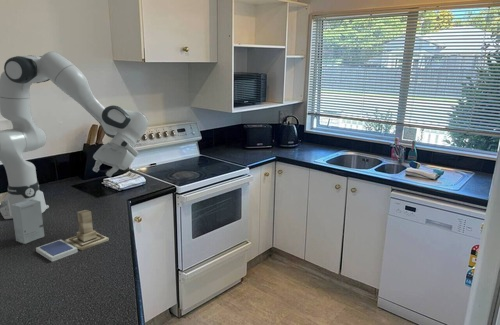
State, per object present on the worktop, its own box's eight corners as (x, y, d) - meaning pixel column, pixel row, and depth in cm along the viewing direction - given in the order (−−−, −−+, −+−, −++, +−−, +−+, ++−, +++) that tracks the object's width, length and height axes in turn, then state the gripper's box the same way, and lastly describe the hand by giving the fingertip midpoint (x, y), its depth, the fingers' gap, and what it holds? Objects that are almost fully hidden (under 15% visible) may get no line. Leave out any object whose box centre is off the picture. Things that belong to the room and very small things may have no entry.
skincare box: (24, 244, 139) (18, 207, 136) (15, 241, 142) (9, 204, 139) (45, 236, 146) (41, 200, 143) (36, 233, 149) (31, 198, 146)
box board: (65, 241, 142) (65, 238, 142) (92, 232, 150) (92, 229, 150) (81, 250, 135) (81, 247, 134) (109, 240, 143) (108, 237, 143)
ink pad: (36, 251, 134) (35, 247, 133) (61, 242, 141) (60, 238, 140) (52, 261, 127) (51, 257, 126) (77, 252, 134) (77, 247, 133)
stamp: (77, 239, 142) (74, 212, 139) (89, 235, 146) (87, 208, 143) (84, 242, 139) (81, 215, 136) (96, 238, 143) (94, 211, 140)
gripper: (101, 137, 156) (81, 164, 151) (131, 144, 144) (110, 174, 139) (112, 146, 161) (92, 172, 156) (141, 154, 149) (121, 182, 144)
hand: (101, 173), depth 147 cm, fingers open, 8 cm apart
